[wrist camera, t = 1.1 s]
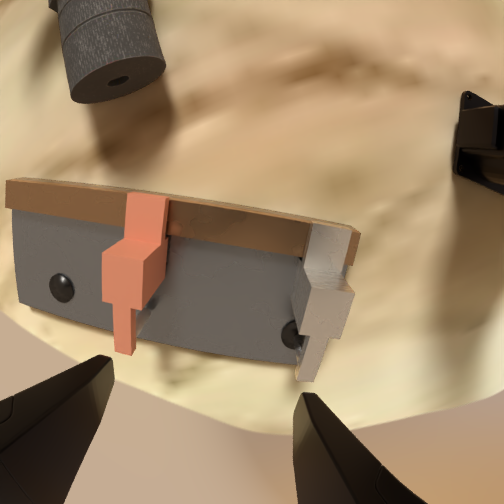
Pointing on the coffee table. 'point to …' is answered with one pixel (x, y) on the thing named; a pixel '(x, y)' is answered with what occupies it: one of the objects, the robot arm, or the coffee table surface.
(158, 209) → the block
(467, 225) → the coffee table surface
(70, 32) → the laser sight
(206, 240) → the plate
